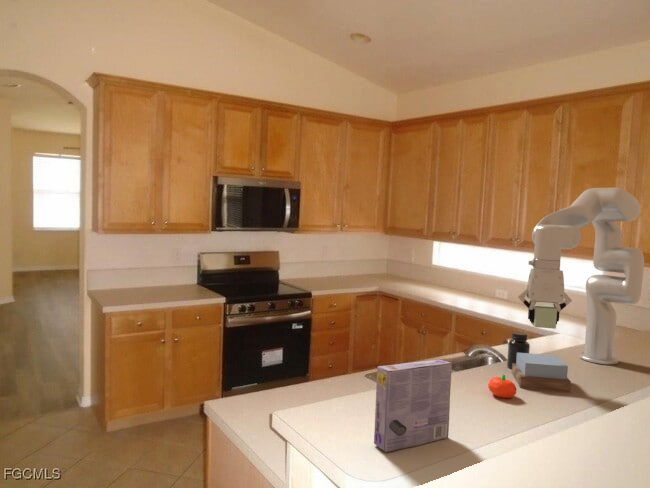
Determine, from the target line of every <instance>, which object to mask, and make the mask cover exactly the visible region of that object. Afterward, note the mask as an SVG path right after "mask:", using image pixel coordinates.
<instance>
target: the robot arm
mask: <svg viewBox="0 0 650 488" xmlns="http://www.w3.org/2000/svg"><path fill="white" fill-rule="evenodd" d="M641 209H642V208H641V204H640V202H639V200H638V198H636V197H635V196H634V195H632V194H631V192H629V191H627V190H625V189H623V188H621V187H591V188H587V189H585V190H584V191H583V192H582V193H581V194H580V195H579V196H578V197H577V198H576V199H575V200H574V201H573V202H572V203H571V204H570V205H569V206H568V207H567V206H566V207H565V208H561V209H559V210H557V211H554V212H551V213H549V214H547V215H546V216H544V217H542V219H540V221H539V222H537V224H536V225H535V226H534V228H533V230H532V233H531V240H532V241H531V242H532V243H533V244H534V252H533V259H532V260H528V266H531V267H532V268H530V272H529V275H528V281H527V285H526V287H527V288H526V289H525V290H524V291H522V292H521V293H520V294H519V295H518V296H517V298H518V299H519V300H520V301H521V303H523V304H524V306H526V307H527V309H528V313H527V320H529V322H530V324H531V323H534V314H535V311H534V306H535V305H537V303H548V304H550V303H551V304H552V306H553V307H555V308H556V309H557V318H556V326H557V325H558V322H559V321H560V312H562V310H563V309H564V308H565V307H566V308H567V306H568V305H569V304H570V303H572V301H573V300H572V299H571V298H570V296H569V295H568V294H567V293H566V292H565V280H564V279H565V276H564V271H563V270H561V259H562V258H561V257H562V250H572V249H575V248H577V247H578V246H579V245H580V243H581V241H582V233H581V231H580V230H579V229H581V228H586V227H588V226H590V224H592V226H593V228H594V233H595V238H594V247H593V248H594V249H593V256H592V259H593V261H592V263H593V267H594V269H596V270H598V271H602V272H609V273H616V274H617V273H618V274H624V276H616V275H608V274H607V275H606V274H593V275H591V276H589V277H588V278H587V279H586V281H585V293H586V294H585V295H586V302H587V303H586V306H587V307H586V322H585V324H586V325H585V336H584V337H585V339H584V351H582V352H579V356H578V357H579V358H580V359H581V360H584V361H586V362H590V363H595V364H600V365H617V364H619V358H617V357H616V356H615V354H614V353H615V345H616V344H615V343H616V341H615V340H616V330H617V329H616V328H617V311H616V310H615V308H614V306H613V305H612V303H615V304H621V305H628V306H629V305H630V306H631V305H637V303H639V301H640V300H641V296H642V289H643V282H644V281H643V280H644V272H645V271H644V269H645V257H644V253H643V252H642V250H641V249H640V248H637V247H633V246H623V245H622V242H623V241H622V240H623V231H622V229H621V227H620V226H619V224H617V223H616V222H627V223H628V222H634V221H635V220H637V219H638V218H639V216H640V213H641ZM526 297H527V299H529V301H528V300H527V299H526Z"/></svg>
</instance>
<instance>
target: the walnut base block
mask: <svg viewBox="0 0 650 488" xmlns="http://www.w3.org/2000/svg"><path fill="white" fill-rule="evenodd" d="M511 375H512V377H513V378H514V380H515V382H516V383H517V385H518V386H519V388H520V389H528V390H537V391H538V390H540V391H548V392H550V391H551V392H562V393H571V383H572V381H571V380H570V378H569V377H567V379H555V378H543V377H531V376H524V374H523V373H522V372H521V370H520V369H519V368H518V366H517V365H516V364H515V363H512V369H511Z"/></svg>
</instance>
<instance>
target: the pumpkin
mask: <svg viewBox="0 0 650 488" xmlns="http://www.w3.org/2000/svg"><path fill="white" fill-rule="evenodd" d="M487 387H488V389H489V391H490V392H491V393H492V394H493V395H494V396H496V397H499V398H502V399H509V398H513V397H514V396H516V394H517V387H516V384H515V383H514V382H513V381H511V380H509V379H506V375H505V374H502V376H501V377H500V376H493V377H492V378H490V379H489V381H488V384H487Z"/></svg>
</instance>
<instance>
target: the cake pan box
mask: <svg viewBox="0 0 650 488" xmlns="http://www.w3.org/2000/svg"><path fill="white" fill-rule="evenodd" d="M452 366H453V365H452V362H450V361H447V360H442V359H431V360H424V361H415V362H406V363H405V362H403V363H397V364H396V363H395V364H388V365H379V366H377V367H376V388H375V389H376V390H375V410H374V411H375V413H374V433H373V434H374V437H373V443H374V445H375V446H377V447H378V448H379V449H380V450H381V451H383V452H384V453H385V454H387V453H390V452H393V451H398V450H402V449H406V448H414V447H418V446H422V445H426V444H428V443H431V442H435V441H440V440H444V439H449V431H450V430H449V429H450V428H449V427H450V407H451V405H450V404H451V384H452V372H453V371H452V368H453V367H452Z"/></svg>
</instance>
